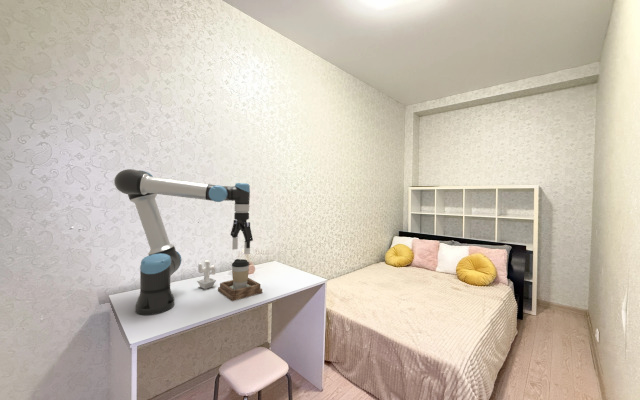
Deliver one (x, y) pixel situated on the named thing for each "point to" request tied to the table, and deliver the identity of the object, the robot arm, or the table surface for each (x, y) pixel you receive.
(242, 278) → the coffee cup
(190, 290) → the table surface
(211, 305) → the table surface
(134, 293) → the table surface
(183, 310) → the table surface
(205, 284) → the figurine
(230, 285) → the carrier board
